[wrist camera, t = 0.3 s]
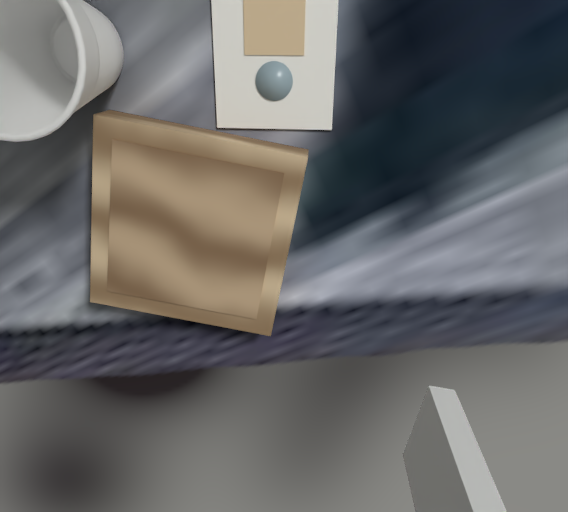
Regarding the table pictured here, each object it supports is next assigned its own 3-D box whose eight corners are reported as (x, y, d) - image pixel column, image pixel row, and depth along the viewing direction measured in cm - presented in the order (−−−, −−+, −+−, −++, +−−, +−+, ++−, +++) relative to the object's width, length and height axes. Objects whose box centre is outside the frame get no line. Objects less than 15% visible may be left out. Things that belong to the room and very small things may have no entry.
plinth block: (109, 109, 36) (92, 114, 33) (308, 149, 37) (308, 157, 34) (104, 286, 43) (89, 302, 40) (273, 318, 43) (270, 337, 40)
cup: (66, 137, 37) (-24, 167, 27) (-7, 10, 34) (-141, -9, 24) (173, 88, 35) (118, 101, 25) (106, -52, 32) (13, -101, 22)
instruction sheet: (209, -53, 32) (208, -54, 31) (341, -52, 31) (341, -53, 31) (217, 127, 36) (216, 127, 36) (331, 129, 36) (331, 130, 36)
